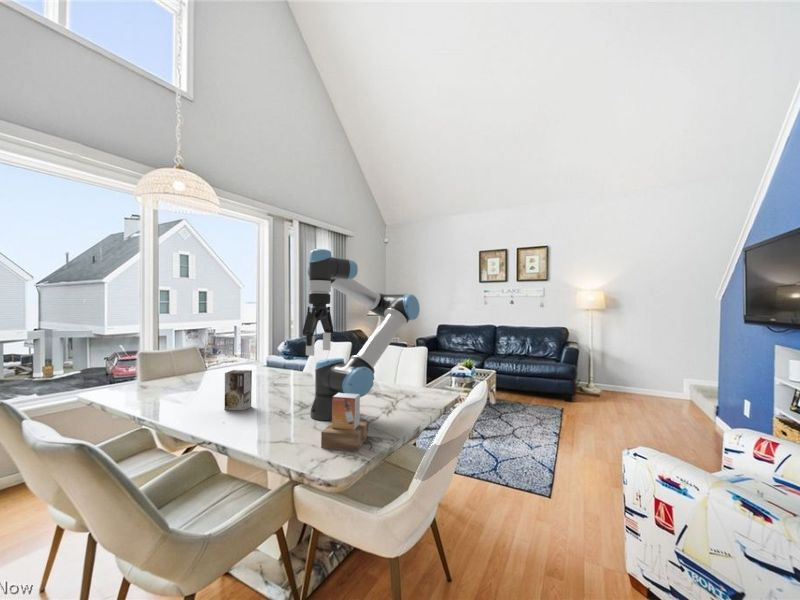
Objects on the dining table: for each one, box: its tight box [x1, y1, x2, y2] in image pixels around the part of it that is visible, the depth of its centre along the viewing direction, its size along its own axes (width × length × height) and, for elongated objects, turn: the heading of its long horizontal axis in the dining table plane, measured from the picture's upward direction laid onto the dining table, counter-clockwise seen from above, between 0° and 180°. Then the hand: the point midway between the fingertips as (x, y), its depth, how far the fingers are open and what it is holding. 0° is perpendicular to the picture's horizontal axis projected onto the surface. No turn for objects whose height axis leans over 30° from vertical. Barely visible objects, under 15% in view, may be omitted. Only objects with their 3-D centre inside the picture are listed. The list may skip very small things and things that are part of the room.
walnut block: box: [320, 420, 369, 452], centre depth 108 cm, size 12×12×5 cm
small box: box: [331, 393, 361, 430], centre depth 108 cm, size 8×6×10 cm
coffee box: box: [224, 369, 253, 411], centre depth 142 cm, size 9×6×16 cm
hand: (318, 352), depth 115 cm, fingers open, 13 cm apart
